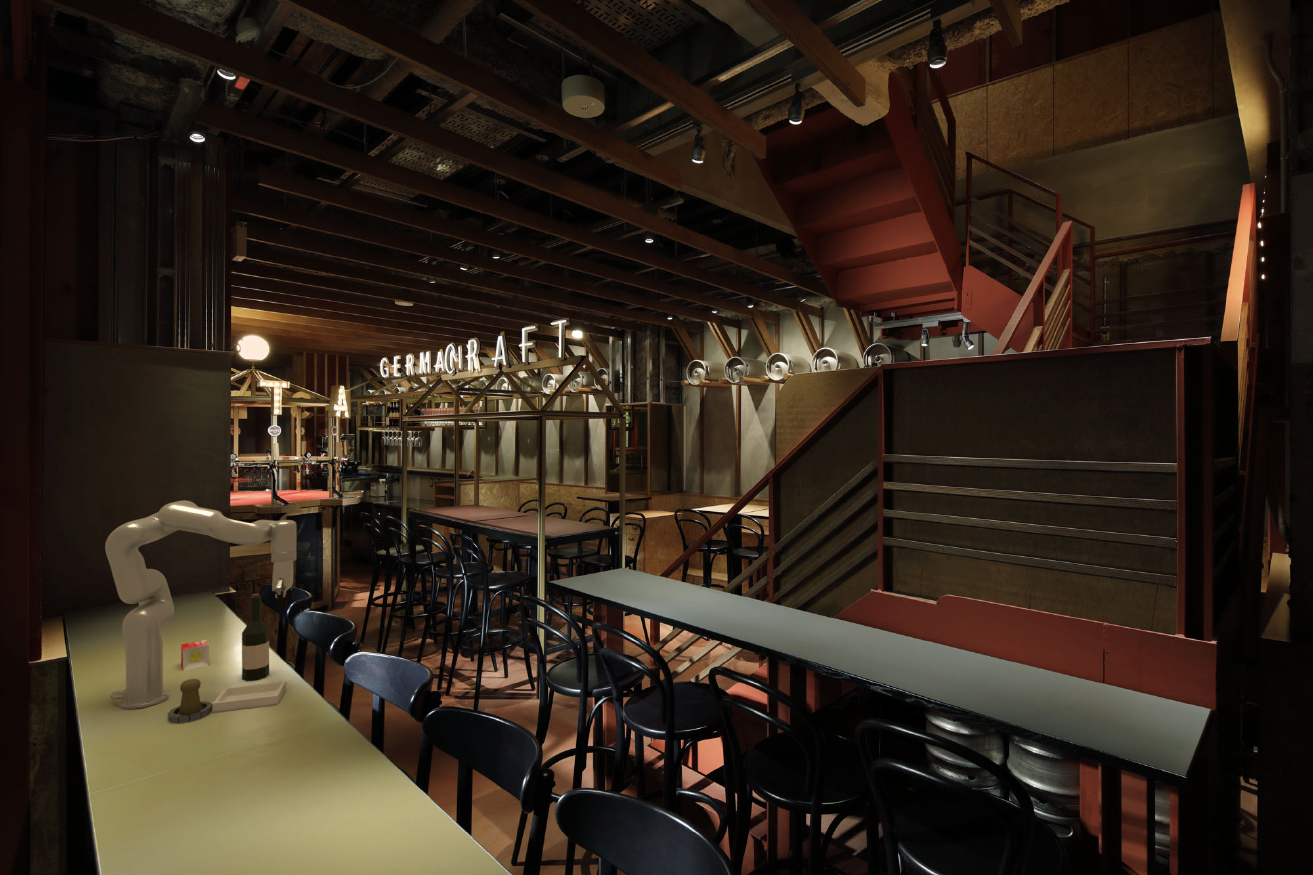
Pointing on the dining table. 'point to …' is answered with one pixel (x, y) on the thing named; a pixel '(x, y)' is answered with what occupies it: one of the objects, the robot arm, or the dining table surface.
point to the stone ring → (176, 718)
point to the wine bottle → (255, 644)
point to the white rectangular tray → (249, 696)
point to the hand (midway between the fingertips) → (283, 605)
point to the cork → (190, 697)
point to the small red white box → (194, 655)
